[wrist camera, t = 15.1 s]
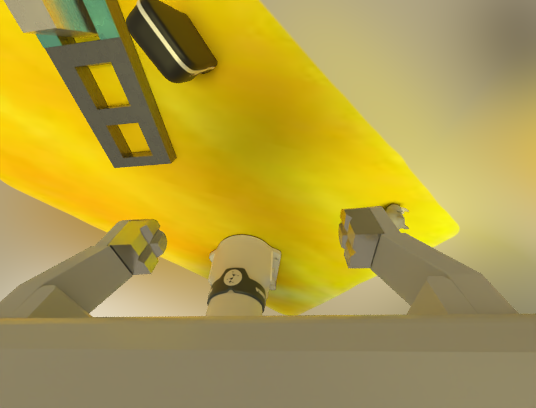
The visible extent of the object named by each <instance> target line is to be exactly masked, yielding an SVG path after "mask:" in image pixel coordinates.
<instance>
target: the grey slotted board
mask: <svg viewBox="0 0 536 408" xmlns="http://www.w3.org/2000/svg"><path fill="white" fill-rule="evenodd" d="M83 2H84V4H85V6H86V9H87V11H88V13H89V15H90V17H91V20H92V22H93V24H94V26H95V29H96V31H97V33H98V35H99V38H100V40H97V41H90V42H83V43H76V42H75V40H74V38H73V37H63V36H53V35H42V34H36V35H37V37H38V39H39V41H40V42H41V44H42V46H43V47H44V48H45V49H46V51H47V53H48V55H49V56H50V58H51V60H52V62H53V63H54V65H55V67H56V68H57V70H58V72H59V74H60V75H61V77H62V79H63V80H64V82H65V84H66V86H67V87H68V89H69V91H70V92H71V94H72V96H73V98H74V99H75V101H76V103H77V104H78V106H79V108H80V110H81V111H82V113H83V115H84V117H85V118H86V120H87V122H88V123H89V125H90V127H91V129H92V130H93V132H94V134H95V135H96V137H97V139H98V141H99V142H100V144H101V146H102V147H103V149H104V151H105V153H106V154H107V156H108V158H109V160H110V161H111V163H112V165H113V166H114V168H120V167H132V166H144V165H157V164H169V163H172V162H173V161H174V160H175V159H176V158H177V157H176V155H175V152H174V149H173V147H172V144H171V141H170V139H169V136H168V134H167V131H166V128H165V126H164V123H163V120H162V118H161V115H160V112H159V110H158V107H157V104H156V102H155V99H154V97H153V94H152V91H151V89H150V86H149V83H148V81H147V78H146V75H145V73H144V70H143V68H142V65H141V62H140V60H139V57H138V54H137V52H136V49H135V46H134V44H133V41H132V39H131V36H130V33H129V31H128V28H127V25H126V23H125V20H124V17H123V15H122V12H121V10H120V7H119V4H118V2H117V0H83ZM109 63H112V65H113V67H114V70H115V72H116V74H117V76H118V79H119V81H120V83H121V85H122V88H123V90H124V92H125V94H126V97H127V99H128V101H129V103H130V104H128V105H119V106H110V107H108V105H107V103H106V101H105V99H104V97H103V95H102V94H101V92H100V90H99V88H98V86H97V84H96V82H95V80H94V78H93V76H92V74H91V72H90V70H89V68H88V66H94V65H101V64H109ZM137 122H138V123H139V126H140V128H141V130H142V132H143V135H144V137H145V139H146V141H147V144H148V146H149V148H150V150H151V151H146V152H135V153H131V151H130V149H129V147H128V145H127V143H126V141H125V139H124V137H123V135H122V133H121V131H120V129H119V127H118V124H127V123H137Z"/></svg>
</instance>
